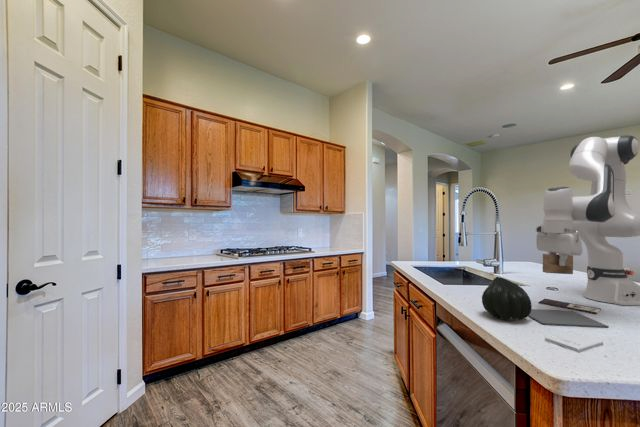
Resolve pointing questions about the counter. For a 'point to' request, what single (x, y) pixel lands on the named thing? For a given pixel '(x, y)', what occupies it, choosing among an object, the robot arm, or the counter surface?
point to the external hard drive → (574, 341)
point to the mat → (563, 318)
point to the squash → (506, 300)
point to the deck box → (557, 264)
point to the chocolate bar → (570, 306)
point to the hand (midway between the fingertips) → (557, 264)
